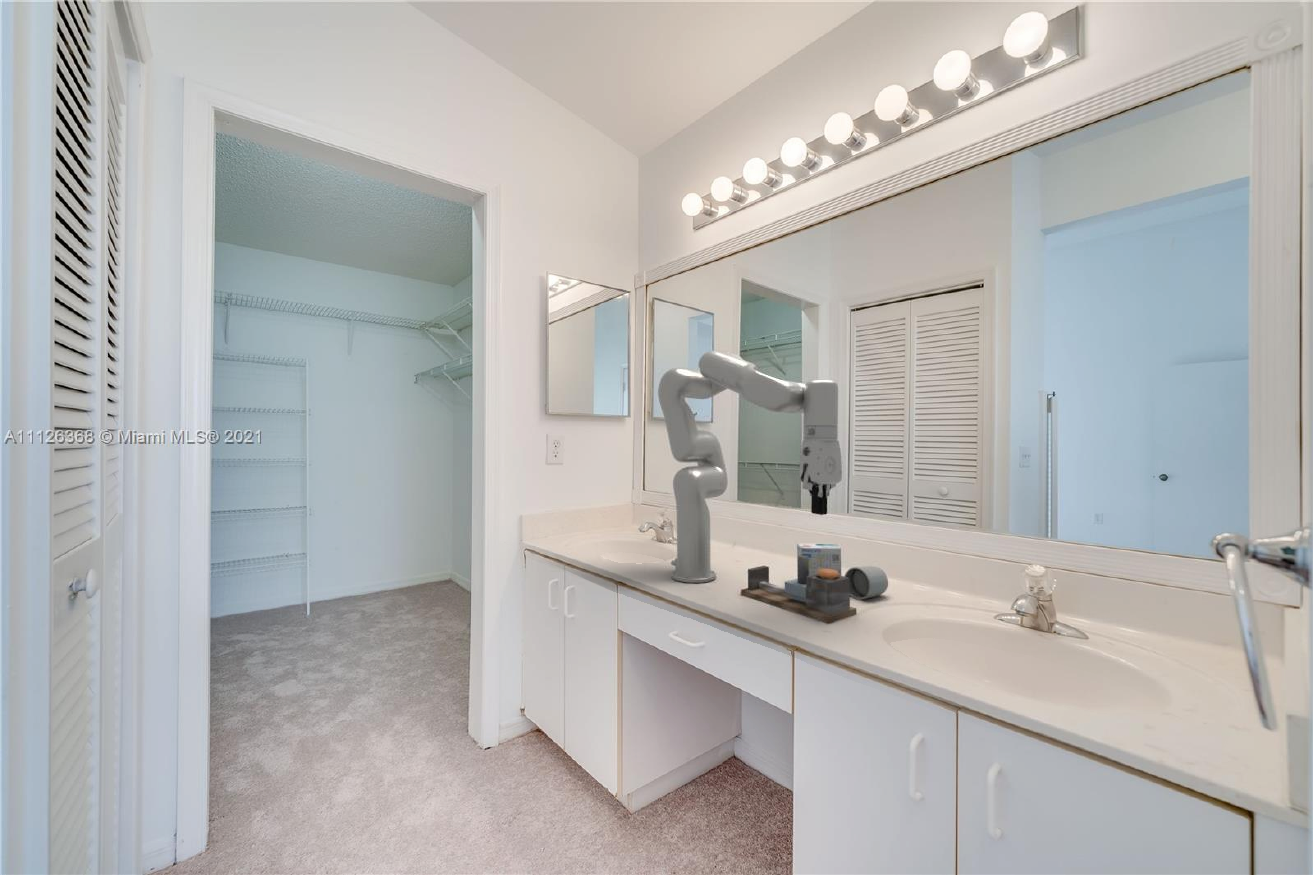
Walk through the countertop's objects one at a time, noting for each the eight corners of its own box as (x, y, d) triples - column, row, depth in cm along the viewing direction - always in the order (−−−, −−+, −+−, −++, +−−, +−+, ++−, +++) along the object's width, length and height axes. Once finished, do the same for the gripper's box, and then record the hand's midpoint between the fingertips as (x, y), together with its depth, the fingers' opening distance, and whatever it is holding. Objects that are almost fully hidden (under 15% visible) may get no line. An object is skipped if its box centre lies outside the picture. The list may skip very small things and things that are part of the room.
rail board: (741, 594, 128) (740, 561, 128) (767, 587, 134) (767, 556, 134) (829, 623, 108) (829, 584, 108) (856, 613, 114) (856, 577, 114)
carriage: (784, 597, 120) (784, 556, 120) (801, 592, 123) (800, 553, 123) (805, 603, 115) (805, 561, 115) (822, 598, 118) (821, 557, 119)
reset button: (813, 592, 114) (813, 570, 114) (825, 589, 117) (825, 567, 117) (830, 597, 111) (830, 574, 111) (842, 594, 113) (842, 571, 113)
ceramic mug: (891, 597, 125) (890, 566, 126) (870, 603, 121) (869, 570, 121) (854, 588, 134) (853, 558, 135) (833, 593, 130) (832, 562, 130)
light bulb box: (836, 582, 140) (835, 542, 140) (842, 589, 133) (842, 547, 133) (796, 581, 141) (796, 542, 141) (800, 588, 134) (800, 547, 134)
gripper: (813, 434, 110) (812, 519, 110) (853, 434, 118) (852, 513, 118) (785, 433, 116) (784, 514, 116) (826, 434, 124) (825, 509, 124)
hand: (819, 513), depth 117 cm, fingers closed
